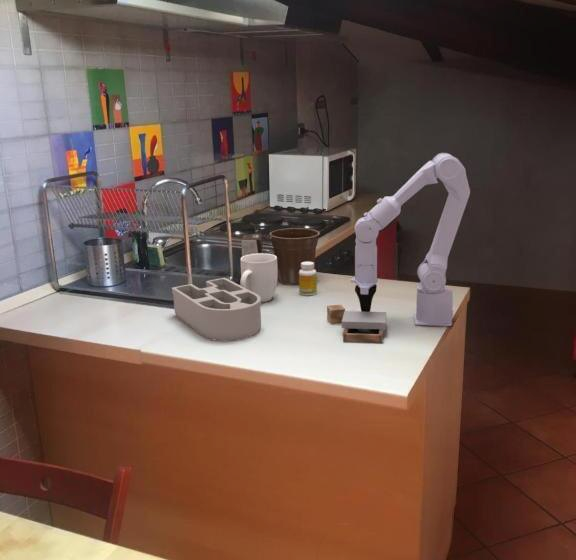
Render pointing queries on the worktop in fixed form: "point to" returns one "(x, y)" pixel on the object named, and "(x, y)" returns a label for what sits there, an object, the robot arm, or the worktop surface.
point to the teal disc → (364, 330)
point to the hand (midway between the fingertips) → (365, 312)
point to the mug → (259, 274)
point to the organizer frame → (362, 337)
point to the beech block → (335, 314)
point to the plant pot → (293, 251)
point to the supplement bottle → (307, 279)
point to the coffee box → (251, 244)
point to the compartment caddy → (219, 309)
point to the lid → (364, 320)
